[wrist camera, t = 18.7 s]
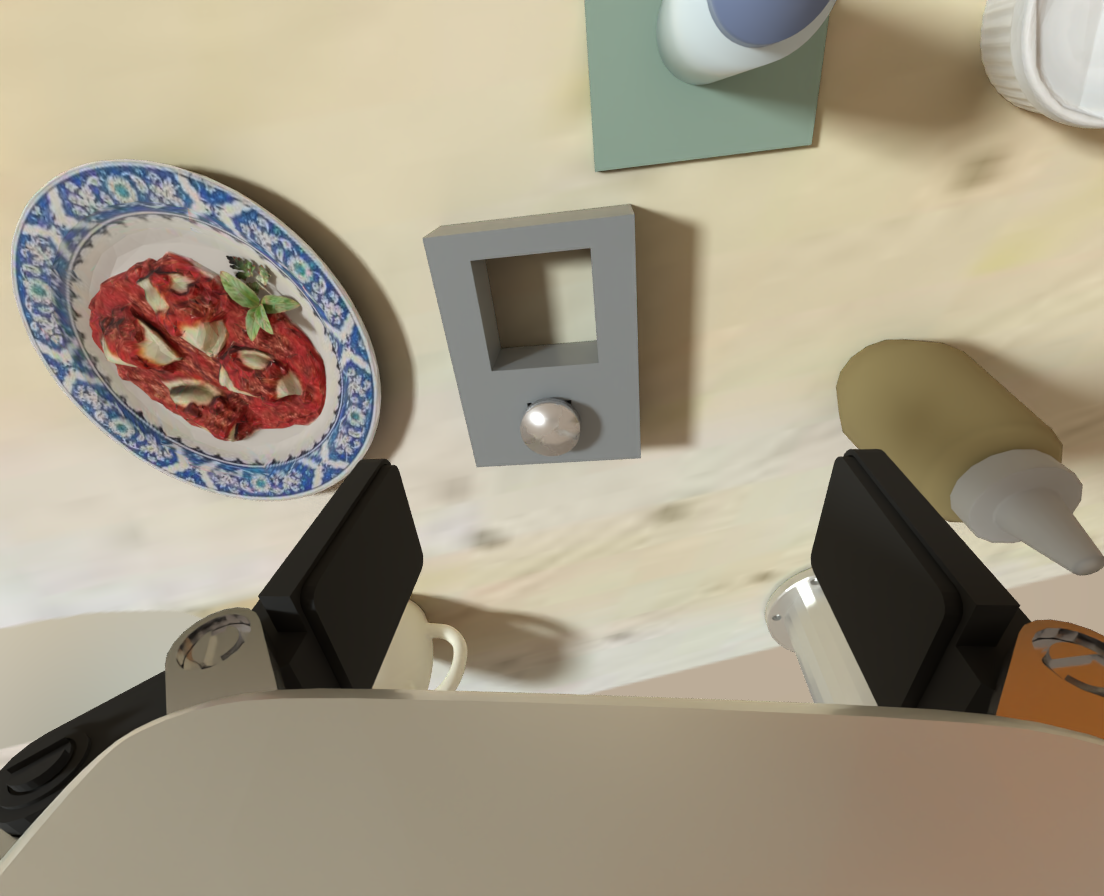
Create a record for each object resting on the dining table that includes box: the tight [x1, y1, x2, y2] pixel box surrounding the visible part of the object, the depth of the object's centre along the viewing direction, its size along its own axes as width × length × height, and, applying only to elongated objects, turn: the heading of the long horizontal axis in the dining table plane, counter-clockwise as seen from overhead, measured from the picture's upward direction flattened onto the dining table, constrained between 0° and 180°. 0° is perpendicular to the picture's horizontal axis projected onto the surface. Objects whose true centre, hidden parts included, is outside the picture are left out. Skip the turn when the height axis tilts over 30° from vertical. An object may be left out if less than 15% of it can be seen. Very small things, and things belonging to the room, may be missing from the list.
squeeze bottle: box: [836, 340, 1104, 575], centre depth 28 cm, size 8×8×18 cm
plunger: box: [520, 398, 580, 456], centre depth 36 cm, size 4×4×4 cm
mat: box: [585, 0, 829, 172], centre depth 26 cm, size 12×12×1 cm
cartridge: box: [656, 0, 836, 85], centre depth 21 cm, size 5×5×12 cm
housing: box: [423, 204, 641, 467], centre depth 34 cm, size 16×12×4 cm
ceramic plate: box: [11, 159, 381, 501], centre depth 37 cm, size 26×26×3 cm
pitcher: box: [372, 600, 468, 691], centre depth 48 cm, size 11×18×14 cm, turn 110°
